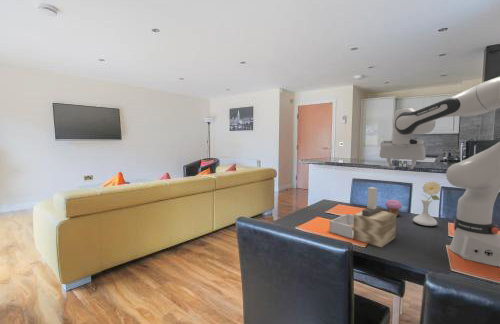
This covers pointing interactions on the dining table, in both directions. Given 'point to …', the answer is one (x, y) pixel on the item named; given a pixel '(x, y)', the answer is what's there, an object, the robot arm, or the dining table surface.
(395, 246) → the dining table surface
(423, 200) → the flower in vase
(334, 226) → the box
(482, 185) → the robot arm
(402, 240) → the dining table surface
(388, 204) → the cupcake
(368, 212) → the scraper
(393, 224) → the wooden grain block
